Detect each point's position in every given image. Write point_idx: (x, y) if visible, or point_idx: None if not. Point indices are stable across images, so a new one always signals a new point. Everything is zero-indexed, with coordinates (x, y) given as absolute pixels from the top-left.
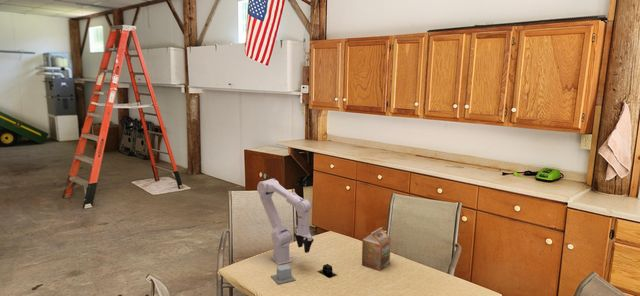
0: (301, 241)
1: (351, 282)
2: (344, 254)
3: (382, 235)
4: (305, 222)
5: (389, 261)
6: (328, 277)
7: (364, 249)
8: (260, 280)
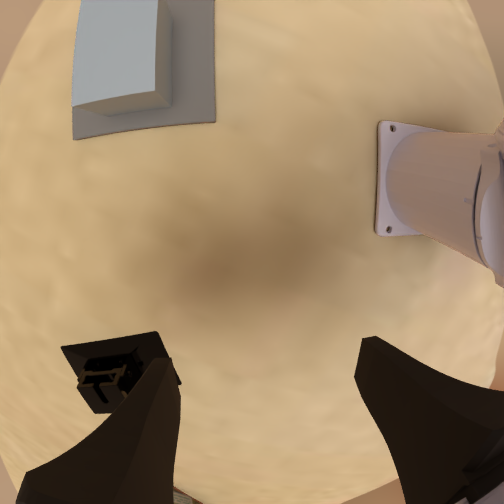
0: (388, 418)
1: (23, 395)
2: (292, 471)
3: None
4: None
5: None
6: (67, 348)
7: None
8: None
